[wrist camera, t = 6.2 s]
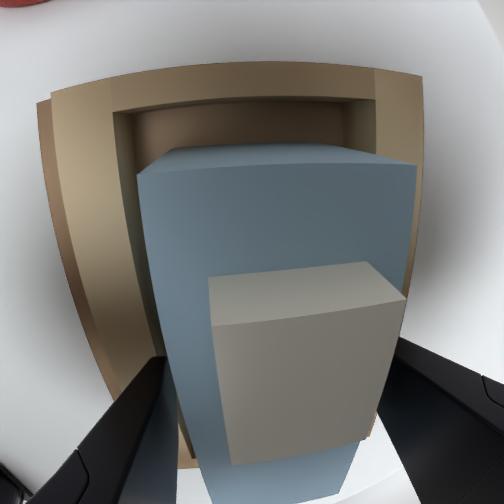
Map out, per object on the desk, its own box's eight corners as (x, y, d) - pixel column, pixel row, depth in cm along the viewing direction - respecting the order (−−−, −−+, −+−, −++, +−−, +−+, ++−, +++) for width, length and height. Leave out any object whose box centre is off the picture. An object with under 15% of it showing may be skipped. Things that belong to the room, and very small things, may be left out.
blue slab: (301, 395, 13) (348, 521, 7) (207, 407, 12) (220, 544, 7) (313, 141, 9) (470, 181, 3) (172, 148, 8) (112, 195, 3)
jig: (368, 381, 15) (397, 429, 12) (135, 413, 14) (128, 470, 11) (397, 83, 10) (460, 78, 7) (56, 104, 9) (1, 101, 5)
